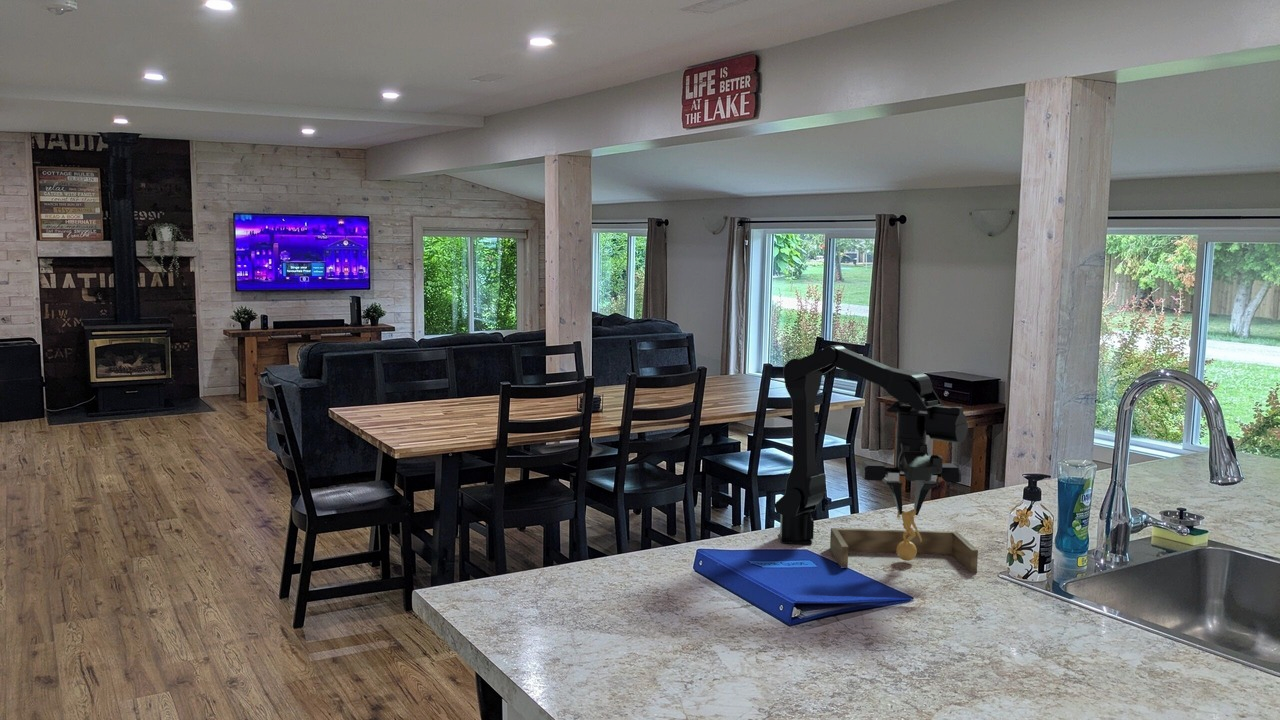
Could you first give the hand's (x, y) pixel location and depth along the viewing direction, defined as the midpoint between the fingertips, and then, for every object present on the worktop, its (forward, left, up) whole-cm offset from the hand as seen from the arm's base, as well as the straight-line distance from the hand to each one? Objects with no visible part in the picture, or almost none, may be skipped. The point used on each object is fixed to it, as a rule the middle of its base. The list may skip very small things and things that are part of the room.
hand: (908, 514), depth 191 cm
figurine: (-1, +3, -10) cm, 11 cm away
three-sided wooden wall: (0, +4, -11) cm, 11 cm away
